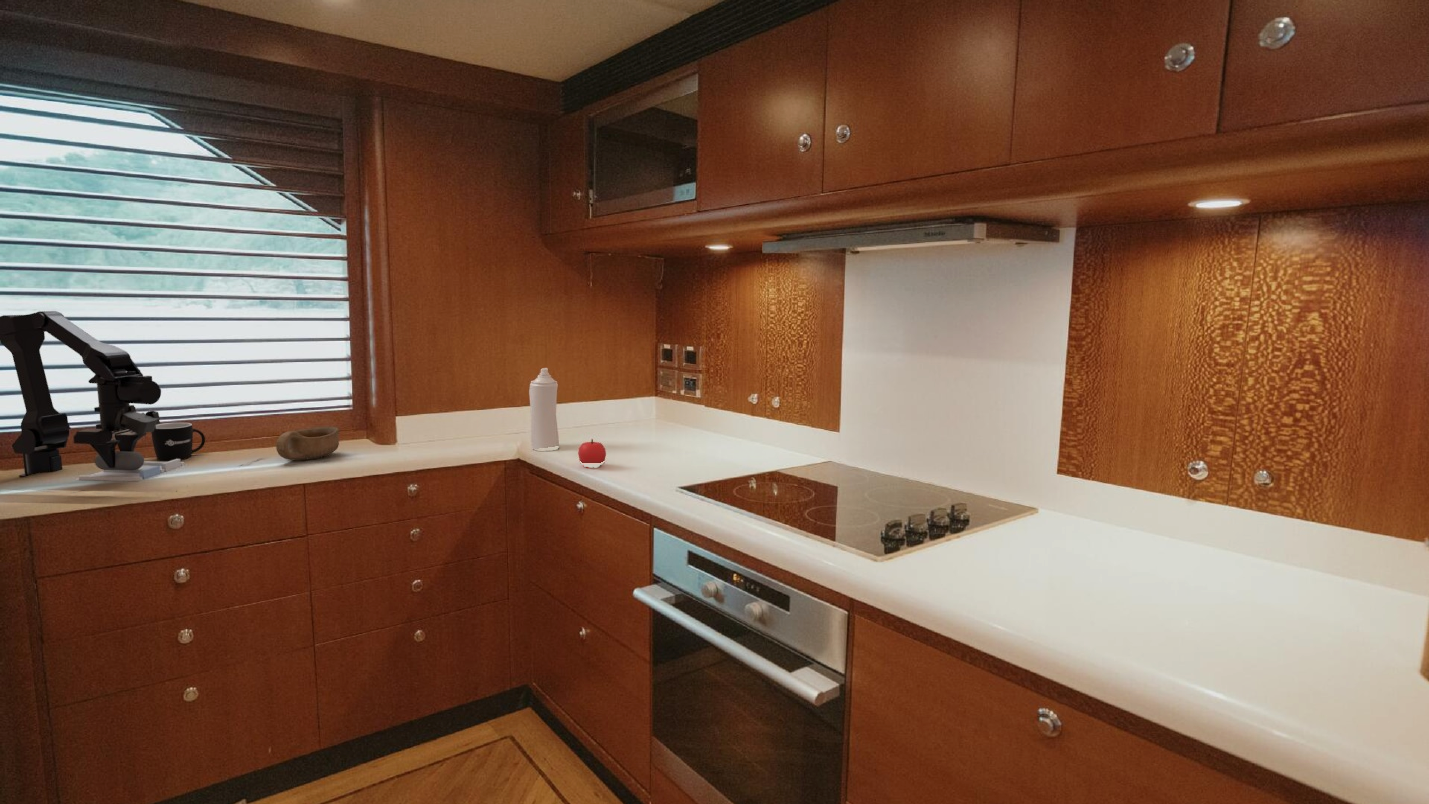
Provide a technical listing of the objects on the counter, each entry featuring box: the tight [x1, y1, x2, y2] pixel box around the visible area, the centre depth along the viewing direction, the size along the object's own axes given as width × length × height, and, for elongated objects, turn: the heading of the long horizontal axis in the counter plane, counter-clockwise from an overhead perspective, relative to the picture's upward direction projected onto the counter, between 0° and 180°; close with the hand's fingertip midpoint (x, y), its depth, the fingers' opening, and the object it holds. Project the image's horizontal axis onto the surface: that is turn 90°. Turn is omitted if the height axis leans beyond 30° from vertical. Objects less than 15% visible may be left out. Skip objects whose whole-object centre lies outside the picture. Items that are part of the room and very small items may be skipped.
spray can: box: [528, 367, 560, 450], centre depth 229 cm, size 12×11×25 cm
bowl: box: [275, 426, 340, 461], centre depth 206 cm, size 18×14×10 cm
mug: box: [150, 422, 206, 462], centre depth 199 cm, size 12×9×10 cm
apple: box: [577, 438, 607, 463], centre depth 208 cm, size 8×8×8 cm
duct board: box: [74, 459, 189, 482], centre depth 183 cm, size 16×16×3 cm
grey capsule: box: [94, 450, 145, 471], centre depth 178 cm, size 11×5×5 cm, turn 92°
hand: (119, 465), depth 179 cm, fingers closed on grey capsule, 4 cm apart
